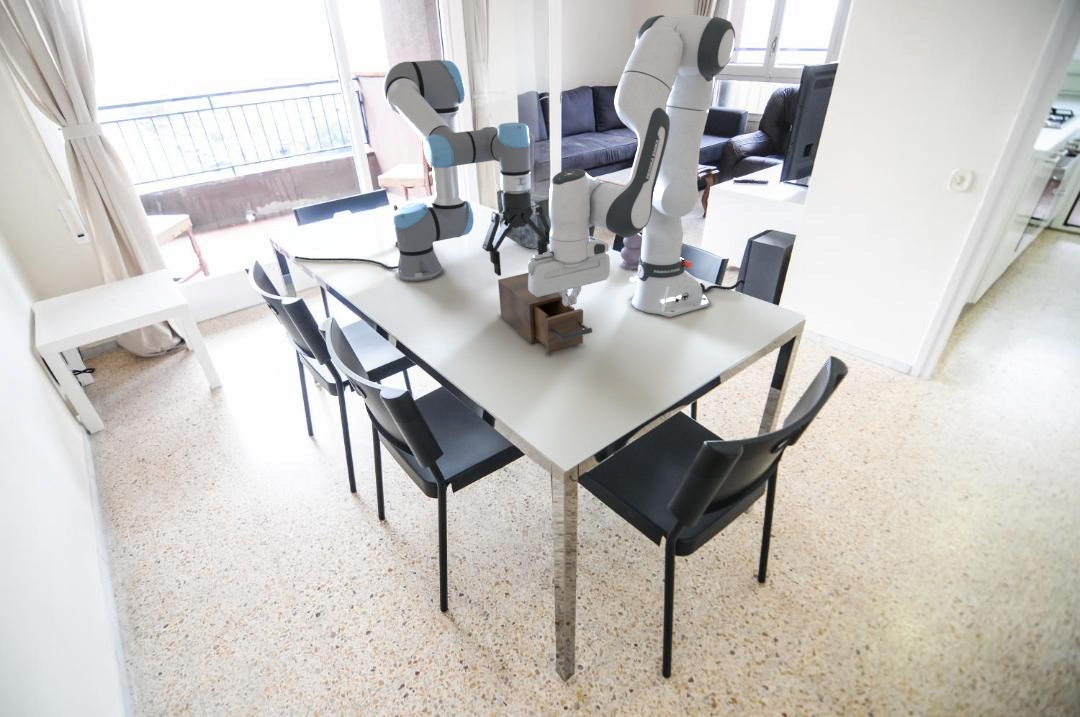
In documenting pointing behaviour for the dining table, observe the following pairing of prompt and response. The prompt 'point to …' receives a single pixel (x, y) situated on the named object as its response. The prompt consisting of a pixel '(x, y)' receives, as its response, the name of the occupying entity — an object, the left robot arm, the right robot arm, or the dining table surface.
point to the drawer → (558, 326)
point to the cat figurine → (631, 251)
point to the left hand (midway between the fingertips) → (520, 268)
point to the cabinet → (521, 304)
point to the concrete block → (525, 233)
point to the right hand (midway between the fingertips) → (569, 304)
